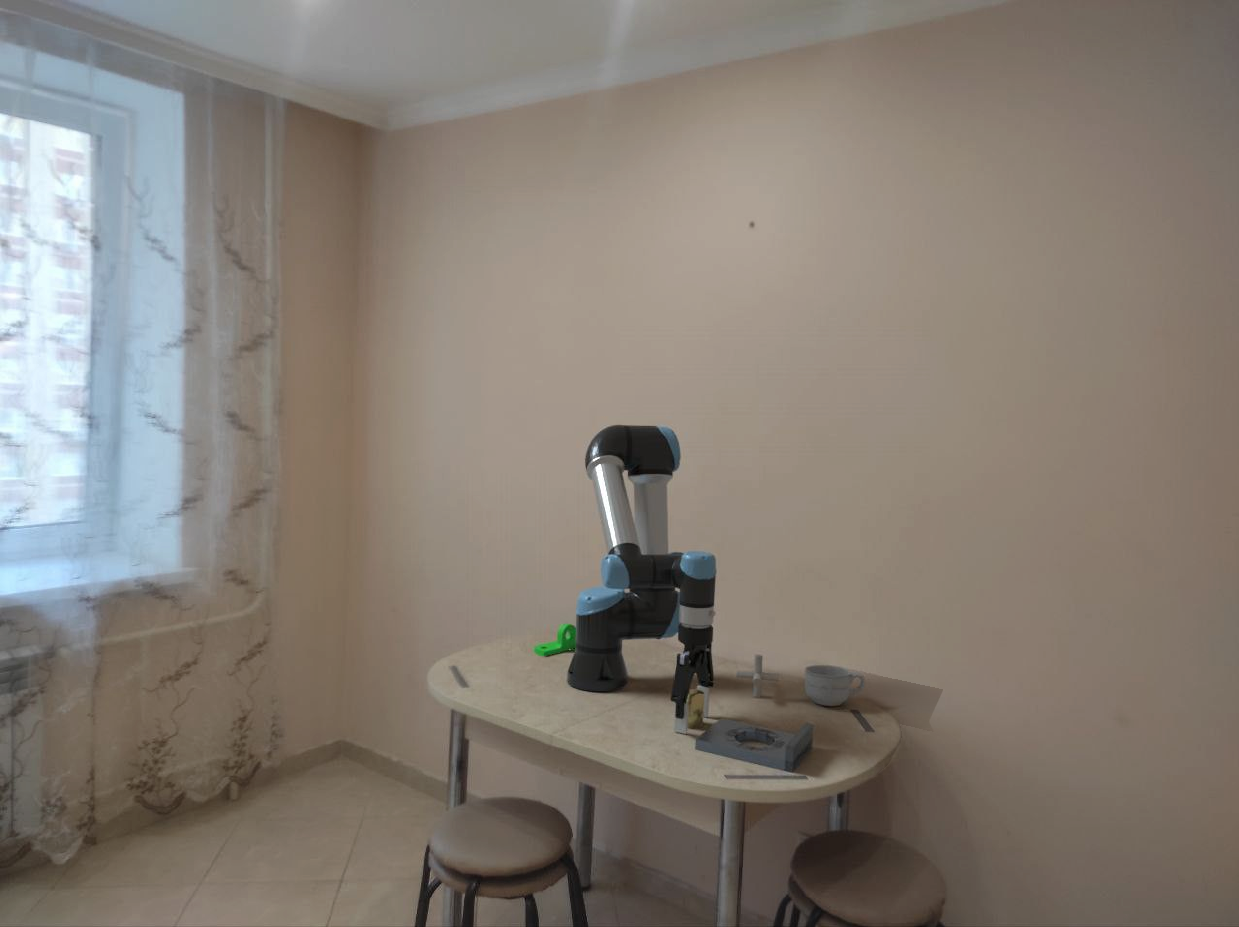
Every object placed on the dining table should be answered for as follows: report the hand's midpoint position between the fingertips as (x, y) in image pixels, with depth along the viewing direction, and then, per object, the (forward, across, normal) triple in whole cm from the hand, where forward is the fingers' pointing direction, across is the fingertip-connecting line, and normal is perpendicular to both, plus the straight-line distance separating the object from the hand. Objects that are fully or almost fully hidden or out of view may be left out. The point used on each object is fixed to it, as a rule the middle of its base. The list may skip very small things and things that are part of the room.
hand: (691, 723), depth 181 cm
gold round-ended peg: (0, 0, 0) cm, 0 cm away
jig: (0, -5, -16) cm, 17 cm away
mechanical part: (+1, +29, +54) cm, 62 cm away
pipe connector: (0, +26, -6) cm, 27 cm away
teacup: (0, +32, -23) cm, 39 cm away
